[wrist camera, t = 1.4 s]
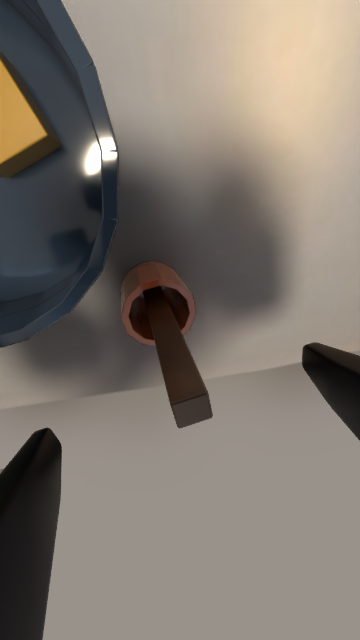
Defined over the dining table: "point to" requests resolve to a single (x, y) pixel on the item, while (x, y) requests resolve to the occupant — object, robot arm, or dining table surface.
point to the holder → (135, 305)
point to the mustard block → (21, 124)
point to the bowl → (55, 175)
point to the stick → (176, 363)
